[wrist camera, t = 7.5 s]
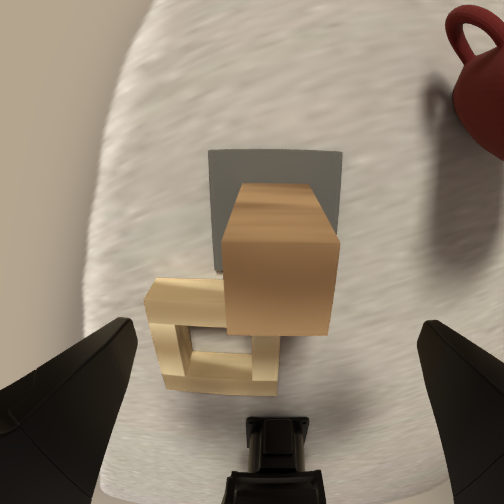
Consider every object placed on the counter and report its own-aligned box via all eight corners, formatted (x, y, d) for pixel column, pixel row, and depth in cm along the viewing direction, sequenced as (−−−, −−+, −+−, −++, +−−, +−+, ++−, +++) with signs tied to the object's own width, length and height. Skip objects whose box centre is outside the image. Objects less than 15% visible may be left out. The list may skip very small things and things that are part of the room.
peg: (305, 244, 20) (327, 335, 12) (243, 244, 20) (227, 334, 12) (308, 184, 18) (340, 243, 10) (242, 183, 19) (221, 241, 10)
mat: (331, 268, 21) (332, 271, 21) (215, 267, 22) (214, 270, 21) (340, 151, 18) (342, 152, 17) (209, 149, 18) (208, 150, 18)
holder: (276, 369, 26) (276, 396, 23) (174, 364, 26) (166, 389, 23) (280, 280, 22) (282, 305, 19) (156, 277, 22) (143, 299, 20)
